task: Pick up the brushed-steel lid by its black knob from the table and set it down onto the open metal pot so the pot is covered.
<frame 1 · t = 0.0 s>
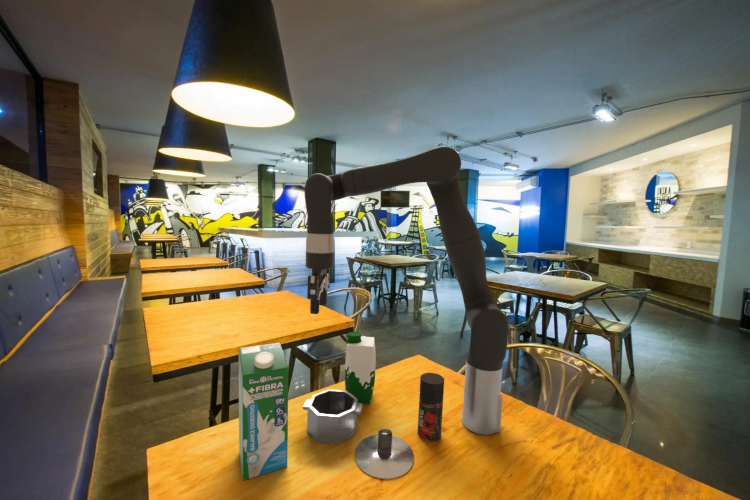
hand: (318, 309, 89), 29 cm above the table, fingers open, 8 cm apart
milk carton: (262, 460, 72), on the table
pot: (332, 427, 84), on the table
lid: (384, 456, 75), on the table
soya milk: (359, 398, 99), on the table
deodorant: (429, 434, 83), on the table
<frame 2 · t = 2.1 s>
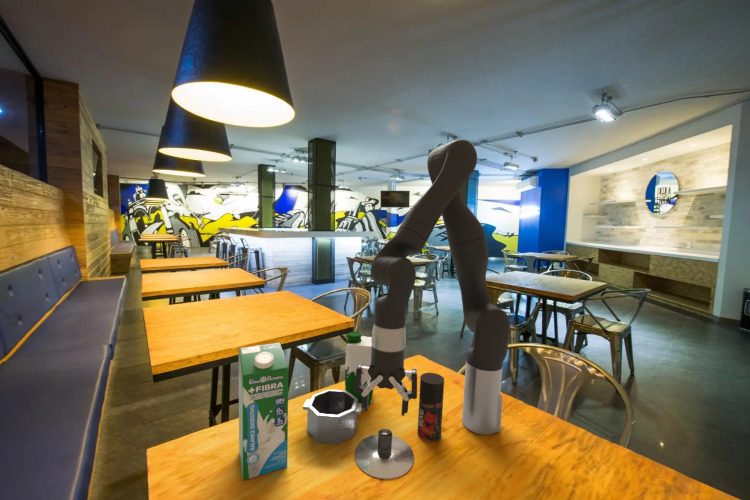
hand: (384, 411, 74), 10 cm above the table, fingers open, 8 cm apart
nothing on the table moved.
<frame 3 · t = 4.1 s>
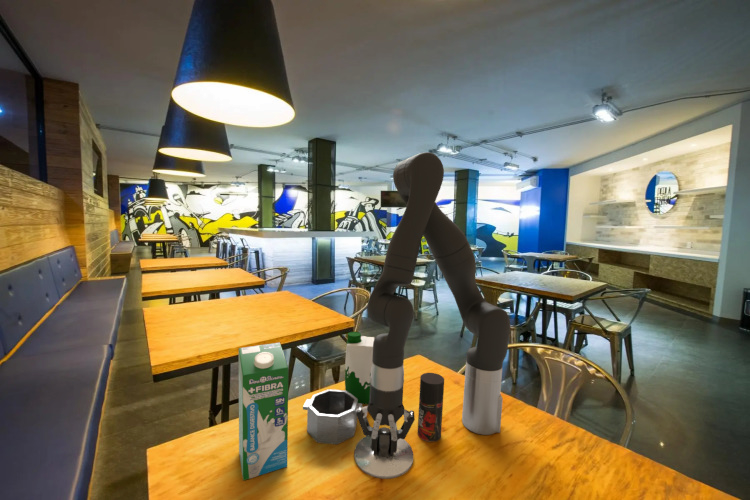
hand: (383, 451, 75), 1 cm above the table, fingers closed on lid, 3 cm apart
lid: (383, 455, 75), on the table, touching gripper
everything else where it was.
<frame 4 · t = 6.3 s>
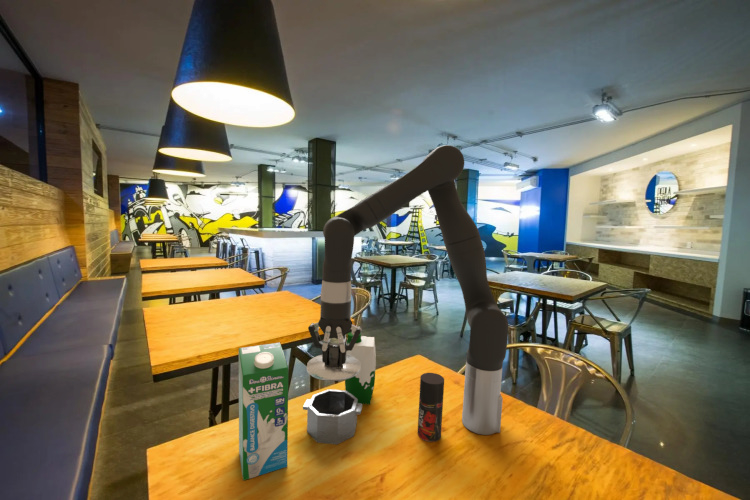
hand: (334, 364, 82), 17 cm above the table, fingers closed on lid, 3 cm apart
lid: (334, 367, 82), point 16 cm above the table, touching gripper
everything else where it was.
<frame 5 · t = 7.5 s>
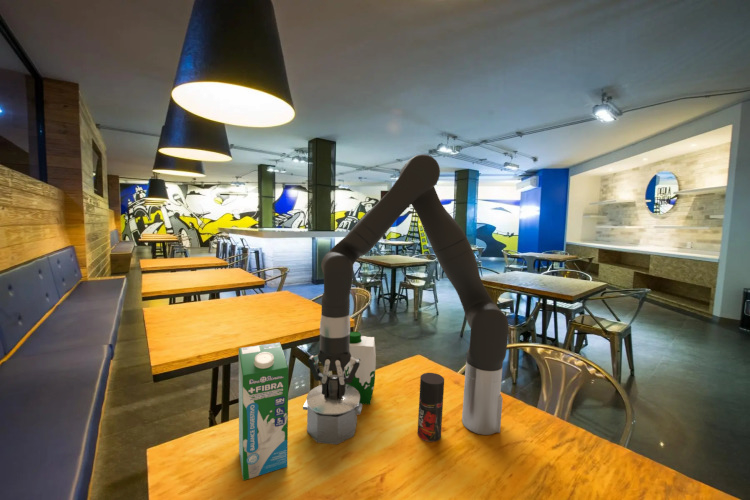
hand: (333, 395, 83), 9 cm above the table, fingers closed on lid, 3 cm apart
lid: (333, 399, 83), point 8 cm above the table, touching gripper
everything else where it was.
when the fingers open (9 cm above the table, at t = 8.4 s): lid stays where it is, resting on pot.
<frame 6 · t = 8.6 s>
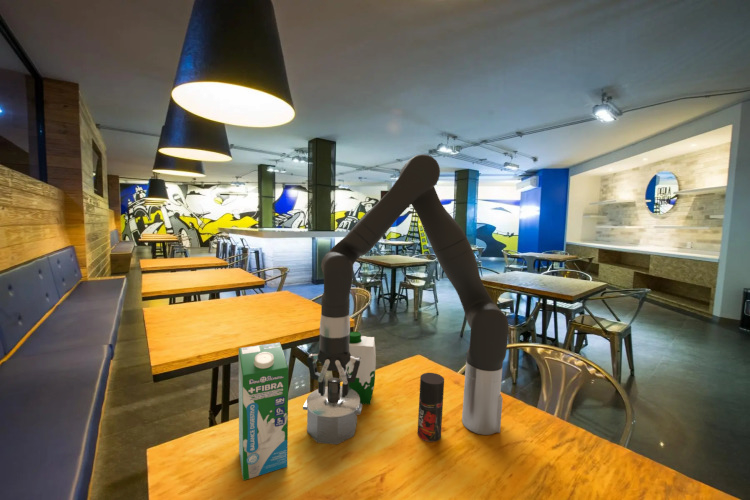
hand: (333, 394, 83), 9 cm above the table, fingers open, 5 cm apart
lid: (333, 402, 84), point 7 cm above the table, touching pot
everything else where it was.
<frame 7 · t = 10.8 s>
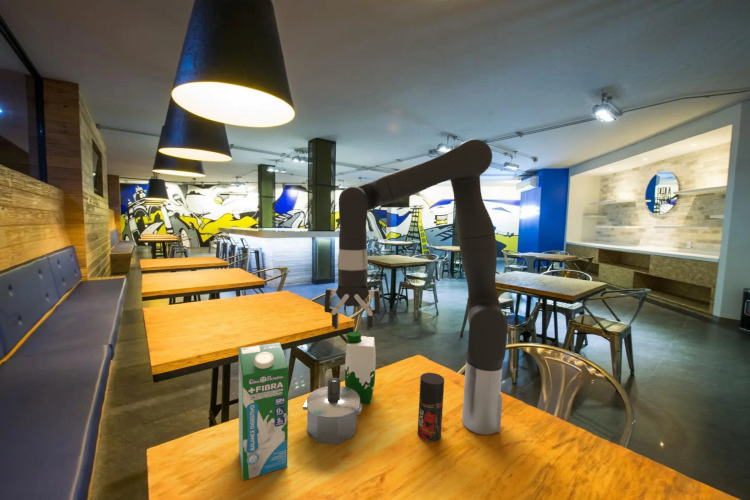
hand: (352, 328, 84), 26 cm above the table, fingers open, 8 cm apart
nothing on the table moved.
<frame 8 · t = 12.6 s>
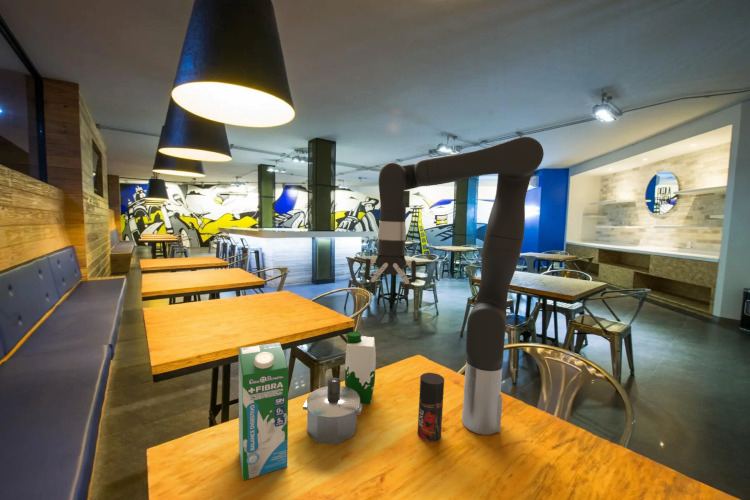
hand: (389, 295, 91), 33 cm above the table, fingers open, 8 cm apart
nothing on the table moved.
at the end: lid 0.1 cm off-centre on the pot, point 7.0 cm above the pot's base; lid tilted 0°; the gripper is holding nothing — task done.
